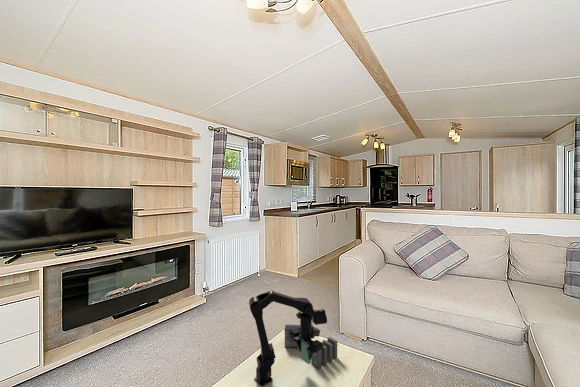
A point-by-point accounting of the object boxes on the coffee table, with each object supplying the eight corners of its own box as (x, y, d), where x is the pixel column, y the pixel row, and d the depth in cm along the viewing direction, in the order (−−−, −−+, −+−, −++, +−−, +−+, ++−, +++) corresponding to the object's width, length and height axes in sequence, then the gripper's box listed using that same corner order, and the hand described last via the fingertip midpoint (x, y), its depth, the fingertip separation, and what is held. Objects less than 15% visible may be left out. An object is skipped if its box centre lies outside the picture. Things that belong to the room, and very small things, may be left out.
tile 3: (324, 366, 133) (324, 348, 133) (316, 360, 138) (316, 343, 138) (327, 364, 135) (327, 347, 135) (319, 359, 139) (319, 342, 139)
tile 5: (334, 359, 139) (334, 342, 139) (327, 354, 143) (327, 338, 143) (337, 357, 140) (337, 341, 140) (329, 352, 144) (329, 336, 144)
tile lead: (308, 364, 126) (308, 345, 126) (300, 358, 130) (300, 340, 130) (311, 362, 127) (311, 344, 127) (303, 357, 131) (303, 339, 131)
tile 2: (318, 369, 131) (318, 351, 131) (311, 364, 135) (311, 346, 135) (321, 367, 132) (321, 350, 132) (313, 362, 136) (313, 345, 136)
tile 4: (329, 362, 136) (329, 345, 136) (322, 357, 140) (322, 340, 140) (332, 360, 137) (332, 344, 137) (324, 356, 142) (324, 339, 142)
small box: (303, 342, 155) (303, 324, 155) (302, 348, 148) (302, 330, 148) (285, 341, 156) (285, 323, 156) (284, 347, 149) (284, 329, 149)
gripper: (330, 327, 127) (330, 359, 127) (304, 313, 141) (304, 342, 141) (315, 335, 119) (314, 369, 119) (289, 320, 134) (288, 350, 134)
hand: (305, 356), depth 129 cm, fingers closed on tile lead, 5 cm apart
